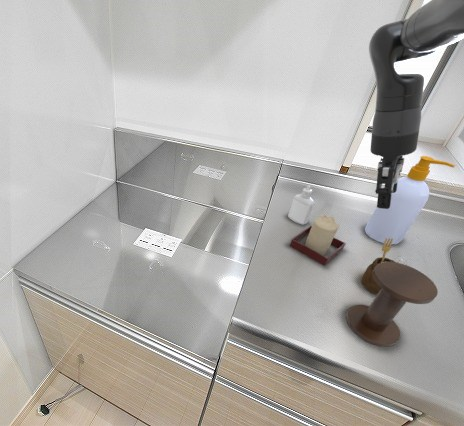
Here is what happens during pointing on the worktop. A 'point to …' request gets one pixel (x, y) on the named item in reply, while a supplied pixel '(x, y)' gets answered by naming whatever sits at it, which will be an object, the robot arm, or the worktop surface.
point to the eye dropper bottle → (301, 207)
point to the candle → (321, 234)
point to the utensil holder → (367, 277)
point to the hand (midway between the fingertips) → (386, 199)
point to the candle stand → (390, 302)
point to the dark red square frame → (312, 253)
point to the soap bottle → (402, 204)
